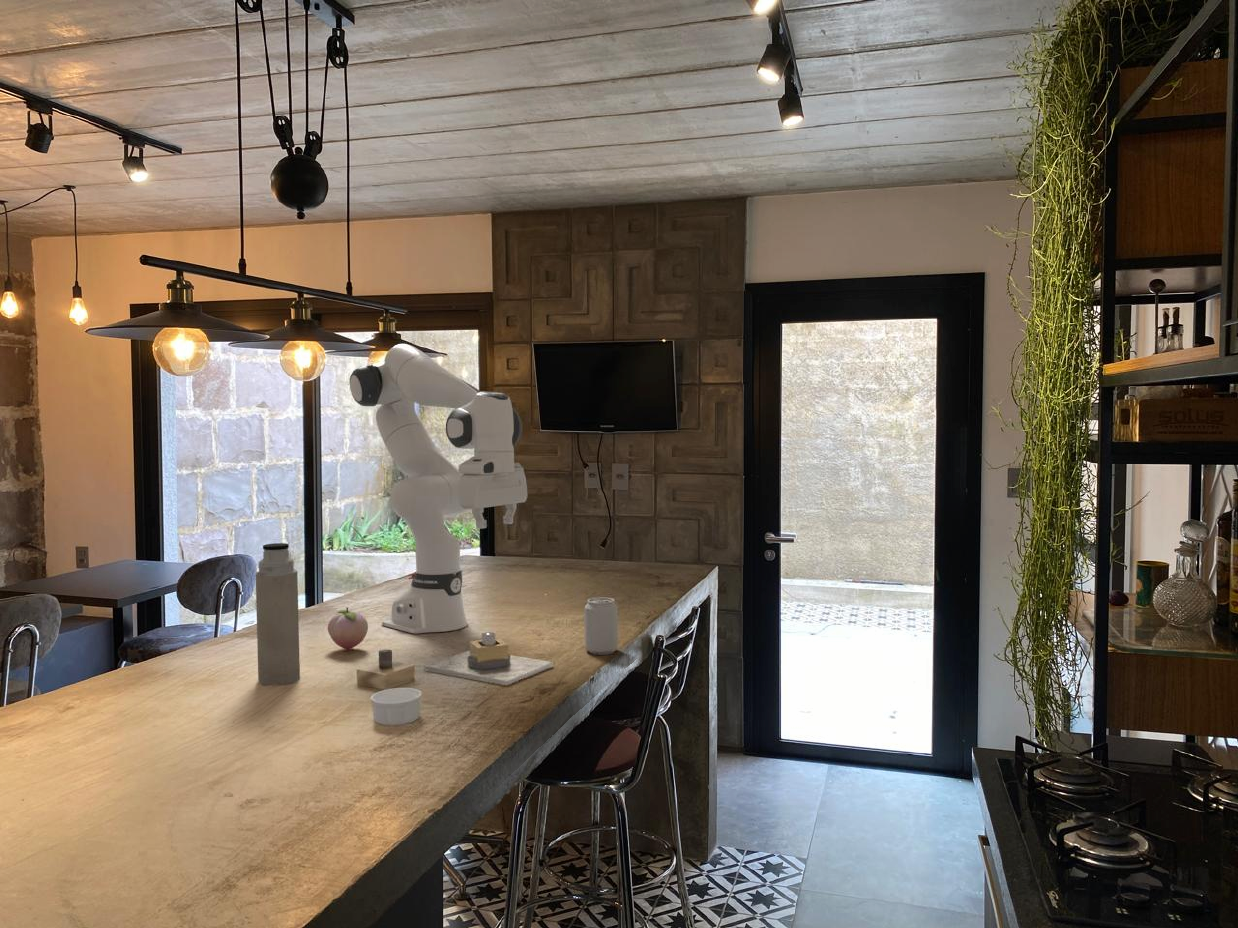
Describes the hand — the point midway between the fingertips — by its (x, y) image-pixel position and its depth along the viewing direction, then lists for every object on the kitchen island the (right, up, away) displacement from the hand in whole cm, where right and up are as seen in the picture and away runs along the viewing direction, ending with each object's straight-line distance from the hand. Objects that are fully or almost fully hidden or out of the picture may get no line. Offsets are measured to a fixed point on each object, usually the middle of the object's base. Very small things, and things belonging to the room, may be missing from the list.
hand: (495, 525), depth 202 cm
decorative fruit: (-35, -29, +6) cm, 46 cm away
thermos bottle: (-42, -31, -18) cm, 55 cm away
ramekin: (-12, -32, -41) cm, 53 cm away
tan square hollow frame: (0, -27, -10) cm, 29 cm away
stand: (-20, -30, -19) cm, 41 cm away
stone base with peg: (0, -30, -10) cm, 31 cm away
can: (+24, -29, +4) cm, 38 cm away
